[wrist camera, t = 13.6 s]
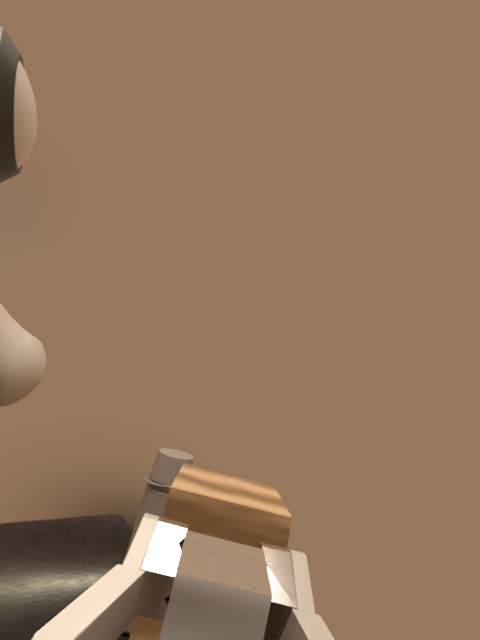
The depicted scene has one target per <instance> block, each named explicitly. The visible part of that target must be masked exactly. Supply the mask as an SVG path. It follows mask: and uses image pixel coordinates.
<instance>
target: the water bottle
mask: <svg viewBox="0 0 480 640" xmlns="http://www.w3.org/2000/svg"><path fill="white" fill-rule="evenodd" d="M193 458H194V457H193V456H192V455H190V454H188V453H186V452H183V451H179V450H175V449H167V448H165V449H160V450H159V451H158V454H157V456H156V459H155V462H154V464H153V467H152V469H151V472H150V475H149V476H148V477H145V479H144V481H146V482H147V485H146V489H145V492H144V496H143V499H142V502H141V506H140V509H139V512H138V516H137V519H136V523H135V526H134V529H133V533H132V536H131V540H130V543H129V546H128V550H129V548H130V545H131V543H132V541H133V538H134V536H135V534H136V531H137V529H138V527H139V524H140V522H141V520H142V517H143V516H144V514H145V513H148V514H152V515H156V516H160V517H163V513H164V510H165V506H166V502H167V499H168V495H169V491H170V488H171V486H172V484H173V482H174V480H175V478H176V476H177V475H178V473H179V471H180V469H181V467H182V465H183V463H188V464H192V465H193ZM147 478H148V480H149V481H147V480H146V479H147ZM128 550H127V552H128ZM126 555H127V553H126ZM133 623H134V620H133V621H132V622H131V623H130V625H129V626H128V627H127V628H126V629H125V630H124V632H123V633H126V634H131V630H132V626H133Z"/></svg>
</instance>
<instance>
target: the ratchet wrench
mask: <svg viewBox="0 0 480 640" xmlns="http://www.w3.org/2000/svg"><path fill="white" fill-rule="evenodd" d="M271 599H272V593H271V588H270V582H269V577H268V572H267V566H266V561H265V555H264V550H263V549H259V548H256V547H252V546H248V545H244V544H240V543H236V542H232V541H228V540H224V539H220V538H216V537H212V536H208V535H204V534H200V533H196V532H192V531H188V530H187V532H186V536H185V539H184V543H183V547H182V551H181V555H180V559H179V563H178V567H177V571H176V575H175V579H174V583H173V587H172V591H171V595H170V599H169V603H168V607H167V611H166V614H165V618H164V622H163V626H162V630H161V634H160V638H159V640H263V638H264V633H265V629H266V624H267V619H268V614H269V609H270V604H271Z"/></svg>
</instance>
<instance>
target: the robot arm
mask: <svg viewBox="0 0 480 640" xmlns="http://www.w3.org/2000/svg"><path fill="white" fill-rule="evenodd" d="M36 132H37V110H36V103H35V99H34V95H33V91H32V88H31V85H30V82H29V79H28V76H27V74H26V73H25V70H24V65H23V59H22V56H21V54H20V52H19V51H18V49H17V48H16V46H15V45H14V43H13V41H12V40H11V38H10V37H9V35H8V33H7V32H6V30H5V29H4V28H3V27H2V26H1V25H0V183H1V182H3V181H5V180H7V179H9V178H12V177H13V176H15V175H17V174H19V173H20V171H21V168H22V164H23V163H24V162H25V160H26V159H27V157H28V156H29V154H30V152H31V149H32V147H33V145H34V141H35V137H36ZM45 368H46V354H45V350H44V348H43V345H42V344H41V342H40V341H39V340H38V339H37V338H35V337H34V336H32V335H31V334H30V333H28V332H27V331H26V330H24V329H23V328H22V327H21V326H20V325H19V324H18V323H17V322H16V321H15V320H14V319H13V318H12V317H11V316H10V315H9V314H8V312H7V311H6V310H5V309H4V307H3V306H2V304H1V303H0V406H10V405H12V404H14V403H17V402H18V401H20V400H22V399H23V398H25V397H26V396H27V395H29V394H30V393H31V392H32V391H33V390H34V389H35V387H36V386H37V385H38V384H39V382H40V381H41V379H42V377H43V374H44V372H45ZM187 529H188V524H184V523H181V522H177V521H174V520H170V519H167V518H163V517H160V516H156V515H152V514H148V513H145V514H144V516H143V517H142V520H141V522H140V524H139V527H138V529H137V531H136V534H135V536H134V538H133V541H132V543H131V545H130V548H129V550H128V552H127V555H126V557H125V559H124V562H123V564H122V565H120V564H117V565H116V566H115V567H113V568H112V569H111V570H110V571H109V572H107V573H106V574H105V575H104V576H103V577H101V578H100V579H99V580H98V581H97V582H96V583H94V584H93V585H92V586H91V587H90V588H88V589H87V590H86V591H85V592H84V593H83V594H81V595H80V596H79V597H78V598H77V599H75V600H74V601H73V602H72V603H71V604H69V605H68V606H67V607H66V608H65V609H64V610H62V611H61V612H60V613H59V614H58V615H56V616H55V617H54V618H53V619H52V620H51V621H49V622H48V623H47V624H46V625H45V626H43V627H42V628H41V629H40V630H39V631H38V632H36V633H35V635H34V637H33V638H32V640H117V639H118V637H119V636H120V635H121V634H122V633H123V632H124V630H125V629H126V628H127V627H128V626H129V625H130V623H131V622H132V621H133V620H134V619H135V617H136V615H138V616H143V617H147V618H152V619H157V620H161V621H164V618H165V614H166V611H167V607H168V603H169V599H170V595H171V591H172V587H173V583H174V579H175V575H176V571H177V567H178V563H179V559H180V555H181V551H182V547H183V543H184V539H185V536H186V532H187ZM258 548H259V549H263V550H264V555H265V561H266V566H267V572H268V577H269V582H270V588H271V593H272V599H271V604H270V609H269V614H268V619H267V624H266V629H265V633H264V638H263V640H334V638H333V636H332V635H331V633H330V631H329V630H328V628H327V626H326V625H325V623H324V621H323V620H322V618H321V616H320V615H317V614H315V608H314V602H313V596H312V589H311V583H310V576H309V569H308V563H307V557H306V555H305V553H302V552H298V551H293V550H289V549H287V548H283V547H279V546H274V545H270V544H266V543H262V542H260V544H259V545H258Z"/></svg>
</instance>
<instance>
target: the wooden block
mask: <svg viewBox="0 0 480 640" xmlns="http://www.w3.org/2000/svg"><path fill="white" fill-rule="evenodd" d="M163 518H167V519H170V520H174V521H177V522H181V523H184V524H188V529H187V530H188V531H192V532H196V533H200V534H204V535H208V536H212V537H216V538H220V539H224V540H228V541H232V542H236V543H240V544H244V545H248V546H252V547H256V548H258V545H259V544H260V542H262V543H266V544H270V545H274V546H279V547H283V548H287V545H288V539H289V533H290V527H291V522H292V517H291V515H290V513H289V511H288V510H287V508H286V506H285V504H284V503H283V501H282V499H281V497H280V496H279V494H278V492H277V491H276V489H275V487H274V485H271V484H267V483H263V482H259V481H255V480H251V479H247V478H243V477H239V476H235V475H231V474H227V473H223V472H219V471H215V470H211V469H207V468H203V467H199V466H195V465H192V464H188V463H183V465H182V467H181V469H180V471H179V473H178V475H177V476H176V478H175V480H174V482H173V484H172V486H171V488H170V491H169V495H168V499H167V502H166V506H165V510H164V513H163ZM163 622H164V621H161V620H157V619H152V618H147V617H143V616H138V615H136V617H135V619H134V623H133V626H132V630H131V634H130V637H129V640H159V638H160V634H161V630H162V626H163Z"/></svg>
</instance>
